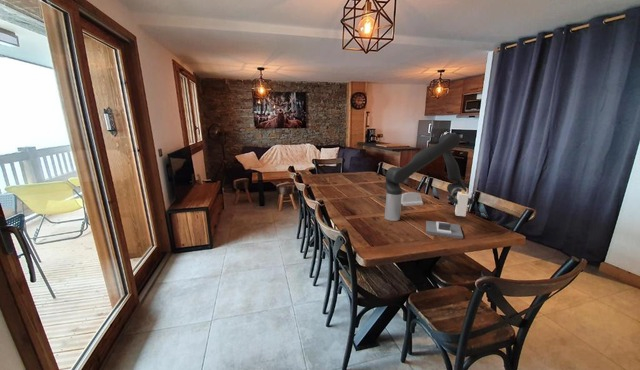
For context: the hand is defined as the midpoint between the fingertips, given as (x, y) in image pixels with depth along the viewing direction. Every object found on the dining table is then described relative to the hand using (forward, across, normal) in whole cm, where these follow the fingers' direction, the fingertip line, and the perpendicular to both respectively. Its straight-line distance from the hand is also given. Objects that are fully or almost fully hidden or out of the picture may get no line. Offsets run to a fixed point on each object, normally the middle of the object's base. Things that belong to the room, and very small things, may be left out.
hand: (462, 203), depth 134 cm
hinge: (-44, -27, +18) cm, 55 cm away
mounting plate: (-1, -7, +18) cm, 19 cm away
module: (-3, 0, +7) cm, 8 cm away
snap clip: (+2, -7, +15) cm, 17 cm away
